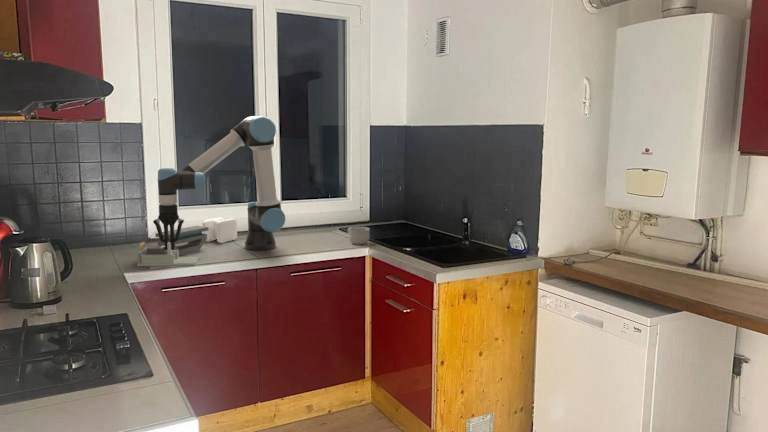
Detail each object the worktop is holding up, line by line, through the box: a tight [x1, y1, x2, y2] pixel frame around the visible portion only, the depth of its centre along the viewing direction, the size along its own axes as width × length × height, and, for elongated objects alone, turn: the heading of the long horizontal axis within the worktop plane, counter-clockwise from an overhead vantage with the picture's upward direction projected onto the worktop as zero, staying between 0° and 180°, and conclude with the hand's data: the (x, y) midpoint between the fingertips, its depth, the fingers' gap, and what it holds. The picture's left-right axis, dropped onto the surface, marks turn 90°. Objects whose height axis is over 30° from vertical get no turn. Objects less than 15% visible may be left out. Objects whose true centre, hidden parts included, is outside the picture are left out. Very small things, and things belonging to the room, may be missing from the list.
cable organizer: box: [202, 217, 238, 244], centre depth 312 cm, size 15×11×12 cm
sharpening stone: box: [154, 225, 209, 257], centre depth 284 cm, size 25×8×11 cm, turn 150°
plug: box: [147, 245, 166, 255], centre depth 263 cm, size 7×5×6 cm
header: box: [136, 241, 201, 267], centre depth 264 cm, size 24×12×9 cm, turn 97°
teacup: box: [347, 226, 371, 246], centre depth 312 cm, size 14×11×8 cm
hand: (170, 256), depth 264 cm, fingers closed
